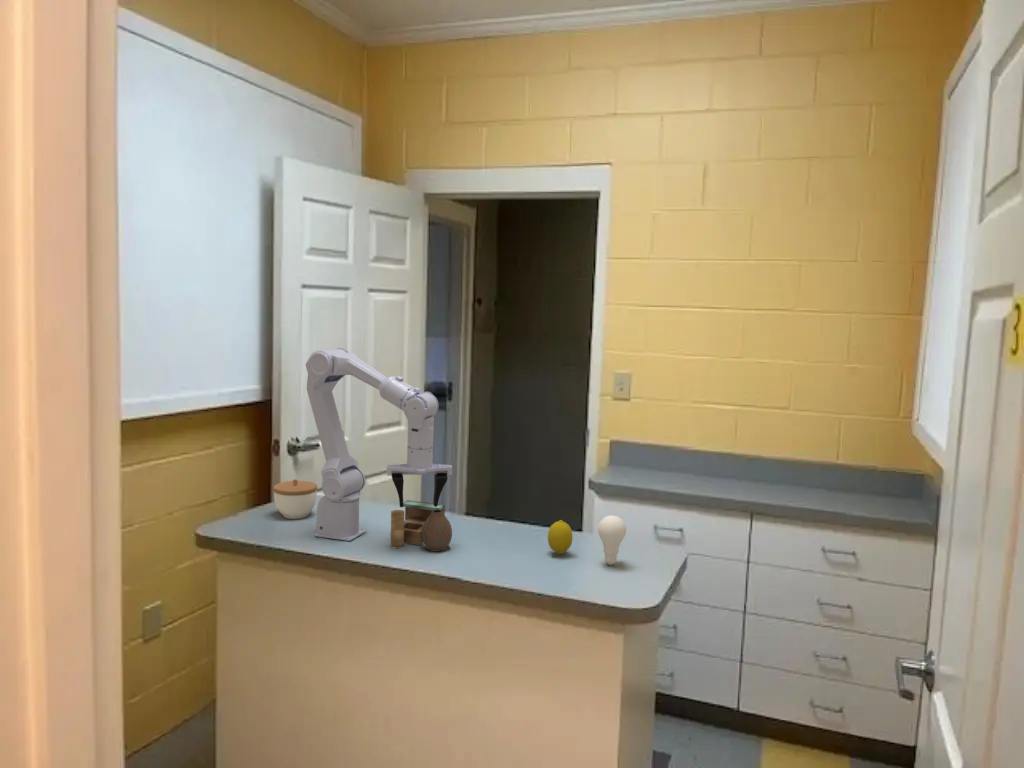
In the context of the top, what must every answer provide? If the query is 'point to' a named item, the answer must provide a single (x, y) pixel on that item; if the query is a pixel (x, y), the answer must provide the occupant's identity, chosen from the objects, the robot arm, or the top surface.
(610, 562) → the lightbulb
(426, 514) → the brown boxy frame piece
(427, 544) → the vase
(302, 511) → the lidded jar
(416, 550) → the top surface
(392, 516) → the oak peg
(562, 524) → the lemon
